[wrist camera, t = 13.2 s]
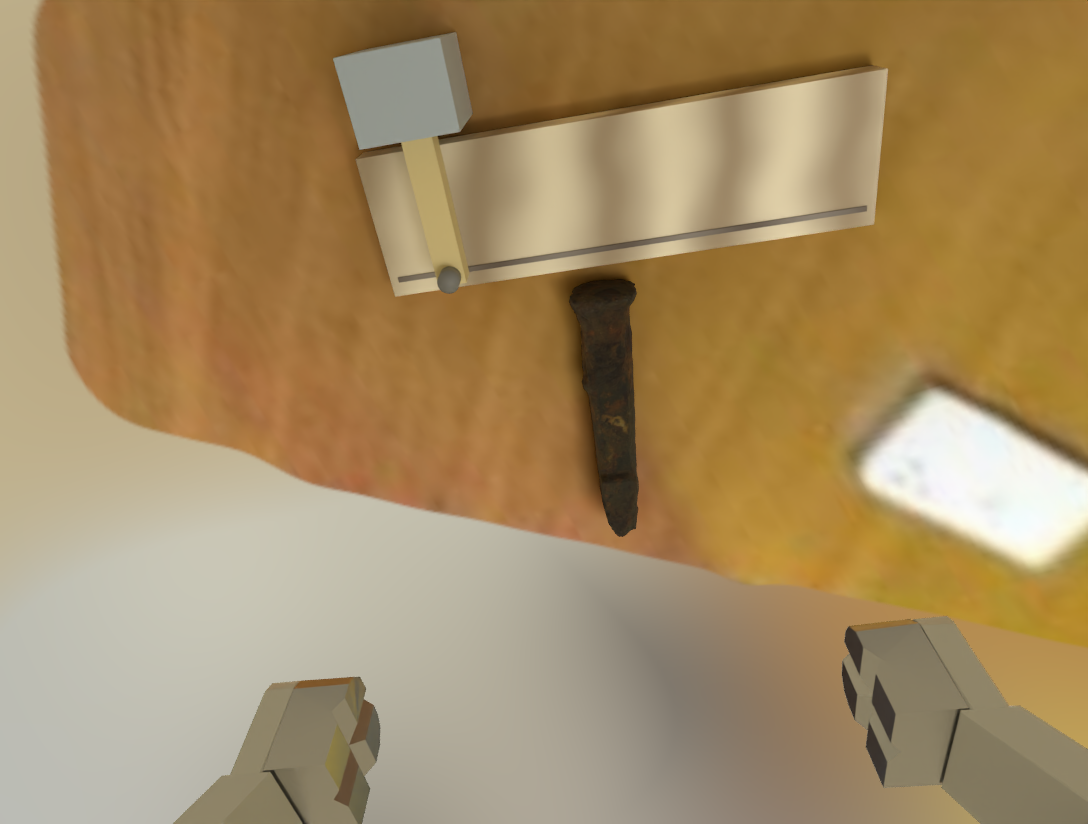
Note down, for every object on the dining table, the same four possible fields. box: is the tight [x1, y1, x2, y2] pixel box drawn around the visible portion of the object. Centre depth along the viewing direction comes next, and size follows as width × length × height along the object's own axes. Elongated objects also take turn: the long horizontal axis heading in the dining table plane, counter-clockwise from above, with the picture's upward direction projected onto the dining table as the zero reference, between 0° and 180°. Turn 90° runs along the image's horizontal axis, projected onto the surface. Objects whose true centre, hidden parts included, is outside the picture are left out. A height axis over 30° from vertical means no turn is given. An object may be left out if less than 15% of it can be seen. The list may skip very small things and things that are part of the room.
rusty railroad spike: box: [569, 279, 639, 537], centre depth 46 cm, size 19×4×5 cm, turn 4°
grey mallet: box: [333, 32, 473, 294], centre depth 36 cm, size 5×12×6 cm, turn 10°
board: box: [355, 65, 888, 297], centre depth 39 cm, size 28×8×2 cm, turn 99°
